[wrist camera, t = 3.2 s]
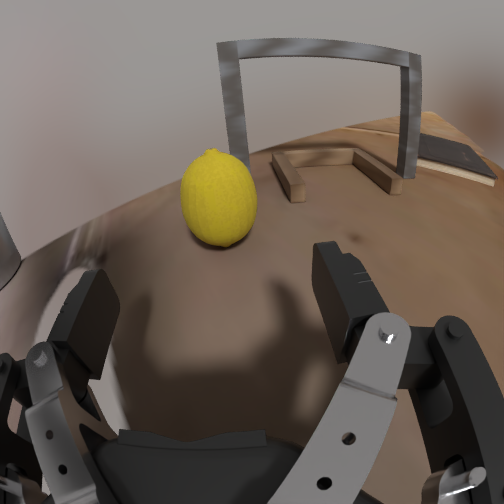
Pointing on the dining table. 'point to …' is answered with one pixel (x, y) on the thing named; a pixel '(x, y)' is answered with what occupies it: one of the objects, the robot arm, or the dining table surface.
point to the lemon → (218, 198)
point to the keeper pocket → (320, 157)
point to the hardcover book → (453, 159)
